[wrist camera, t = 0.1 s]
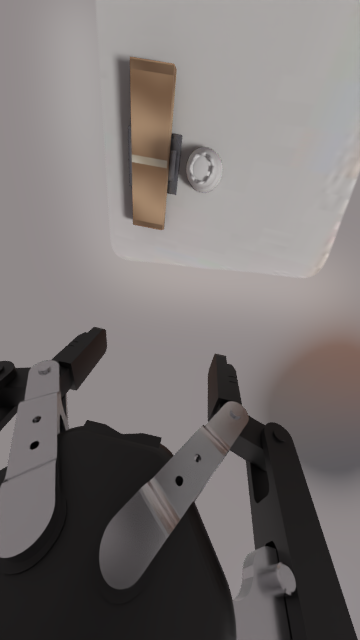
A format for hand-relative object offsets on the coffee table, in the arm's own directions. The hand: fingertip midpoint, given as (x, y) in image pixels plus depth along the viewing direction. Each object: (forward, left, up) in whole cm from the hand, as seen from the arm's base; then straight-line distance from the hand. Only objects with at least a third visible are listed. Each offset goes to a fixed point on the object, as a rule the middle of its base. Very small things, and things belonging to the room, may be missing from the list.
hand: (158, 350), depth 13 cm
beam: (-6, -11, -21) cm, 24 cm away
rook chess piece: (-9, -5, -23) cm, 25 cm away
